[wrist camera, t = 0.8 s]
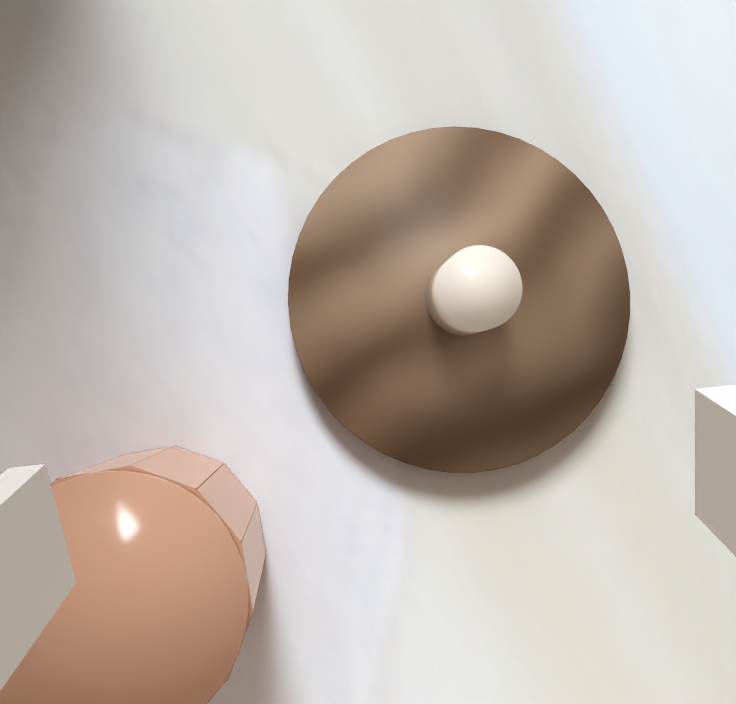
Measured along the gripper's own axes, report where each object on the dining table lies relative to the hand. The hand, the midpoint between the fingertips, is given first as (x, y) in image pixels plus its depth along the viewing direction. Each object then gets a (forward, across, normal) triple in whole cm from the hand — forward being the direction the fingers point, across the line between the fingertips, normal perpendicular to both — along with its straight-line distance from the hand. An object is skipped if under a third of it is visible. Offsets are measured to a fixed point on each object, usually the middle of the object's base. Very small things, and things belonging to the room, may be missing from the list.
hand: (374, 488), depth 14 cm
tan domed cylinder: (+22, -13, -13) cm, 29 cm away
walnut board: (+28, +5, -2) cm, 28 cm away
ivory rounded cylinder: (+26, +5, -2) cm, 27 cm away
